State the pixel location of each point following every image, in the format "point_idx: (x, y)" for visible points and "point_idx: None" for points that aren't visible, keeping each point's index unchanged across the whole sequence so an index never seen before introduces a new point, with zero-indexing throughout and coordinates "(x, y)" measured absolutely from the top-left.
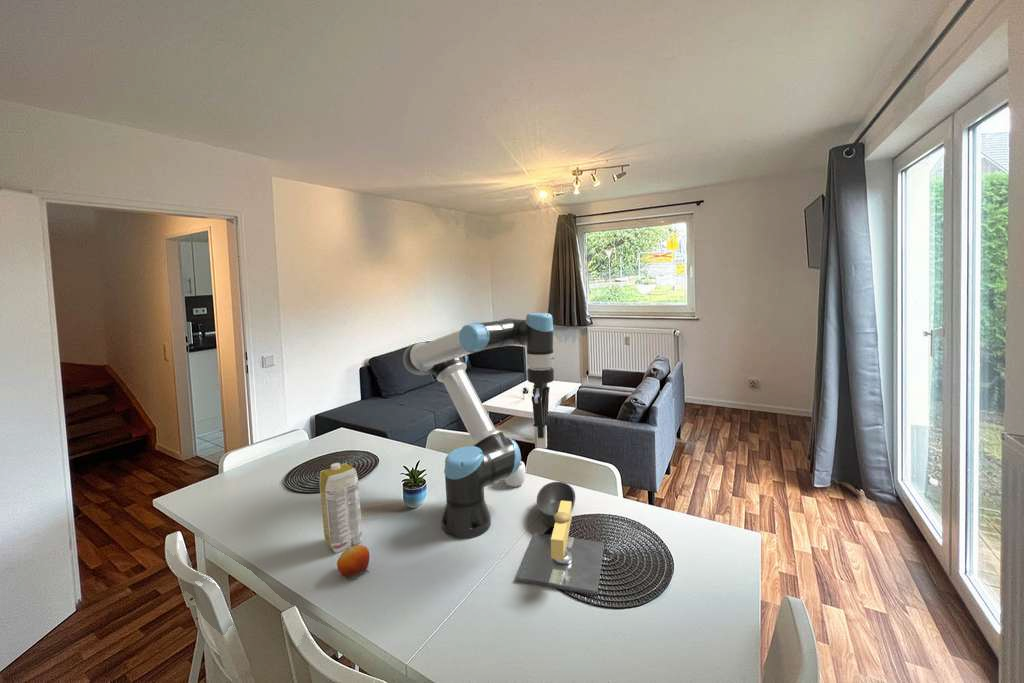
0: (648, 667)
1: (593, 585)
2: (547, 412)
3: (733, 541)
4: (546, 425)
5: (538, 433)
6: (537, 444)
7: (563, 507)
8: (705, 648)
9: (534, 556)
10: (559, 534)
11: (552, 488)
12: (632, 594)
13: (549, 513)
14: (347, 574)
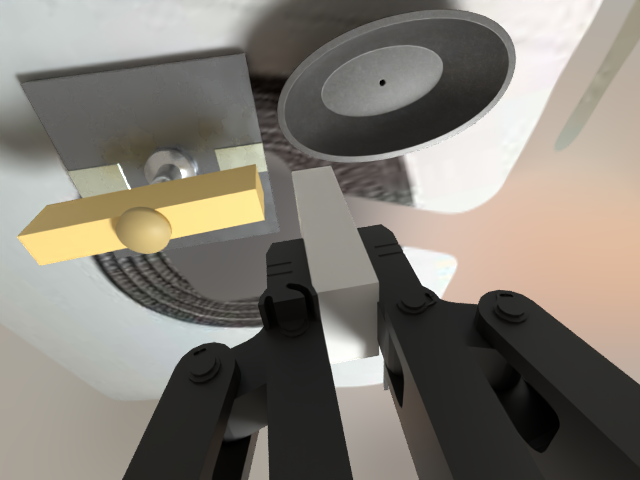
0: (31, 334)
1: (127, 249)
2: (532, 457)
3: (369, 371)
4: (371, 355)
5: (267, 279)
6: (294, 189)
7: (215, 210)
8: (119, 371)
9: (136, 99)
10: (59, 248)
11: (484, 43)
12: (163, 294)
13: (362, 65)
14: None
